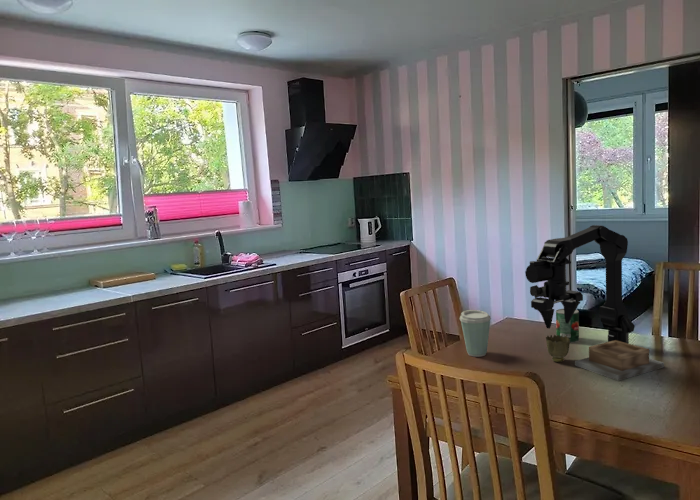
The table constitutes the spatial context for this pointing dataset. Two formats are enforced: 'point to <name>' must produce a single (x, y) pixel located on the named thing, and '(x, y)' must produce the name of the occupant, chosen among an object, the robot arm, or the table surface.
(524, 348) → the table surface
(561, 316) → the canned tomato
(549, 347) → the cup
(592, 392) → the table surface
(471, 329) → the disposable coffee cup
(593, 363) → the wooden square tray
